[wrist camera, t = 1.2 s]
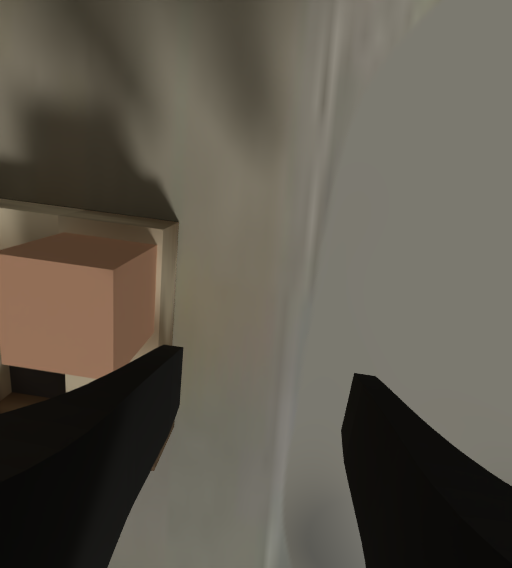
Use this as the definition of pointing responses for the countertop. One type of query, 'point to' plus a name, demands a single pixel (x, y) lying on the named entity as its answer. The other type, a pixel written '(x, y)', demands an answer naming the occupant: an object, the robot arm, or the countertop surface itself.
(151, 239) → the cubby shelf
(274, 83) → the countertop surface
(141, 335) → the block
